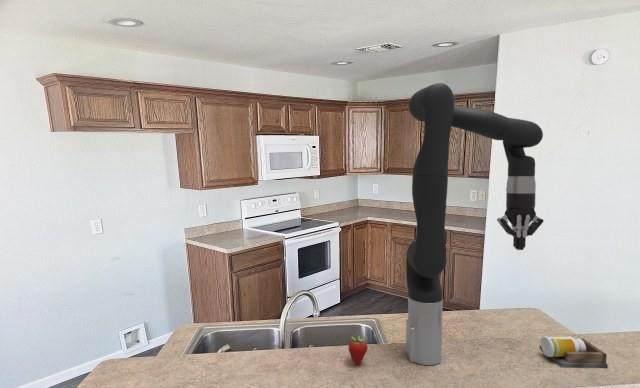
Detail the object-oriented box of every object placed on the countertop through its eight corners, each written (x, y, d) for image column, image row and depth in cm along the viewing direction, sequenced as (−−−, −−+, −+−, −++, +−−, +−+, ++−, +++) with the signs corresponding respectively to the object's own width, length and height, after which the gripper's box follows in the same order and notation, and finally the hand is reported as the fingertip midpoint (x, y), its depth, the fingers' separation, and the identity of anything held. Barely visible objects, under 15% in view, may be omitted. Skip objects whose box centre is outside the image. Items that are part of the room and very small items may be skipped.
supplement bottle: (550, 361, 96) (586, 361, 96) (553, 343, 95) (589, 343, 95) (538, 348, 102) (573, 348, 102) (541, 331, 101) (575, 331, 100)
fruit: (367, 359, 99) (367, 331, 99) (367, 369, 94) (367, 340, 94) (349, 358, 100) (348, 330, 100) (348, 368, 95) (348, 339, 94)
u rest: (560, 367, 95) (561, 354, 94) (539, 348, 105) (539, 337, 104) (607, 368, 94) (608, 355, 94) (581, 349, 104) (581, 337, 104)
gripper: (503, 192, 102) (502, 252, 103) (551, 192, 101) (549, 252, 102) (492, 191, 109) (491, 246, 110) (536, 191, 109) (534, 246, 110)
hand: (519, 249), depth 106 cm, fingers closed
